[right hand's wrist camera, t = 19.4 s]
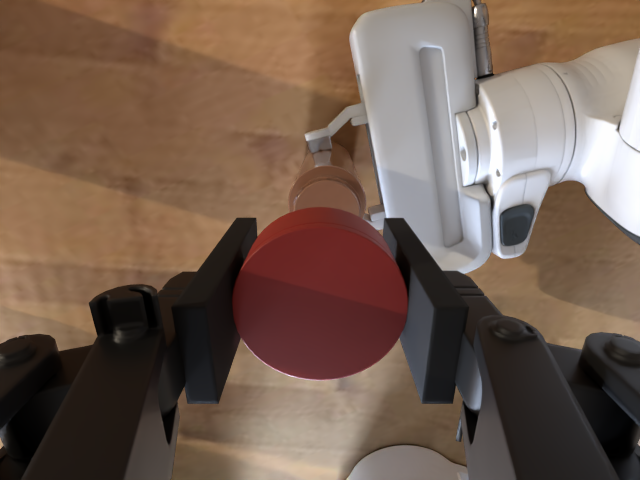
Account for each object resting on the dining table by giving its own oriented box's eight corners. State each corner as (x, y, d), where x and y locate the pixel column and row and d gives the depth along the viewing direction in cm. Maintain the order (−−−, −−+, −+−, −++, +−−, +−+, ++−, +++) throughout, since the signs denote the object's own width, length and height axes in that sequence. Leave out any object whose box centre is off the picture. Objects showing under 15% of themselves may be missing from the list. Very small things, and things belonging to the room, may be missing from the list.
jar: (359, 152, 33) (383, 191, 18) (340, 196, 34) (348, 264, 20) (314, 133, 32) (302, 157, 18) (297, 178, 34) (272, 235, 19)
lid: (215, 253, 12) (195, 282, 10) (350, 176, 11) (356, 191, 9) (295, 361, 13) (291, 404, 11) (419, 302, 12) (437, 337, 10)
